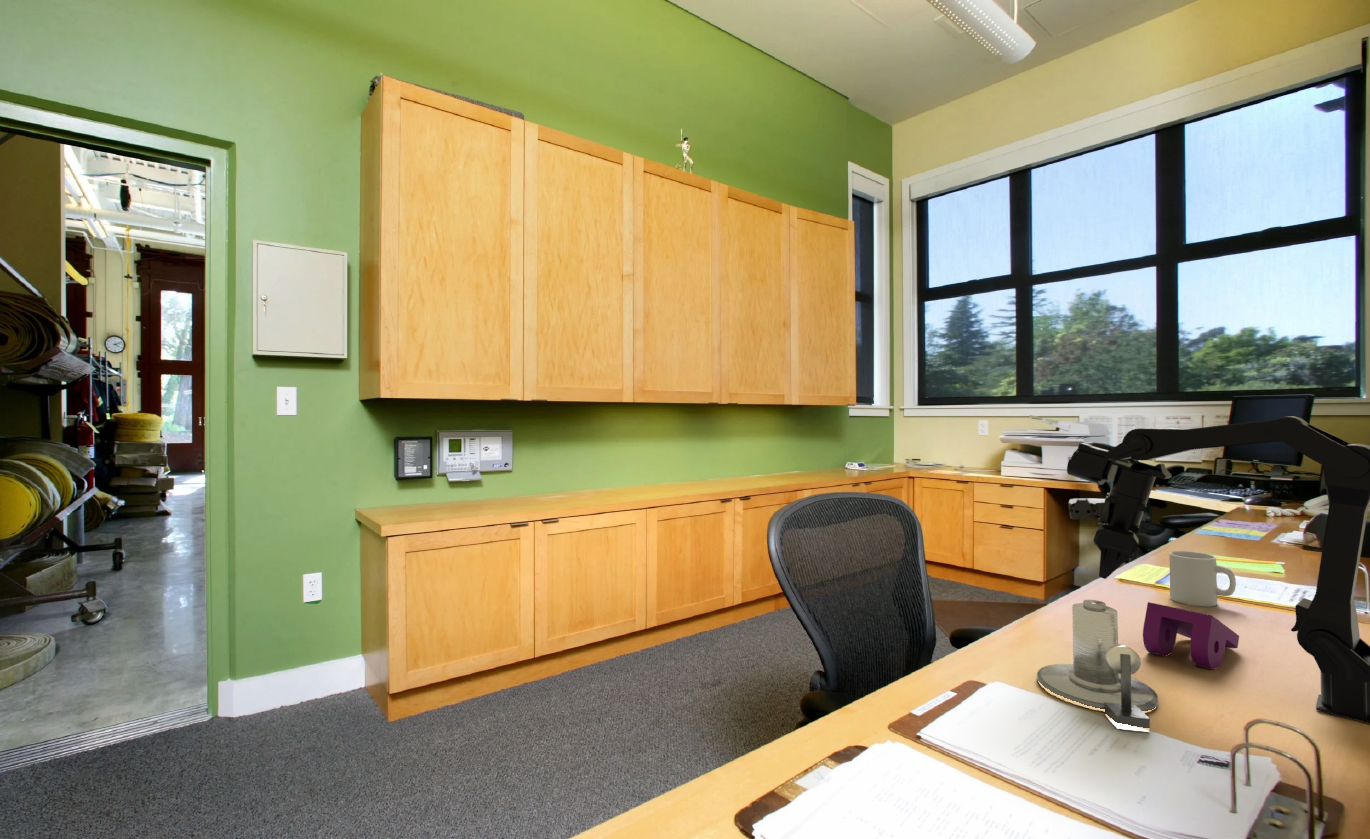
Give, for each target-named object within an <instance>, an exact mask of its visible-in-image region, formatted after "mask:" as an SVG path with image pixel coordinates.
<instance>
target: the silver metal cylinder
mask: <svg viewBox="0 0 1370 839" xmlns="http://www.w3.org/2000/svg"><path fill="white" fill-rule="evenodd" d="M1071 608H1072V609H1071V610H1072V656H1073V658H1072V660H1073V662H1072V664H1073V669H1071V670H1070V671H1069V679H1070V681H1071V682H1072V683H1074V684H1075V685H1077V686H1079V687H1082V688H1085V689H1088V690H1091V691H1096V692H1101V693H1118V692H1121V678H1120V677H1119V673H1117V672H1116V671H1114V670H1113V669H1112V668H1111V667H1110V666H1109V665H1108V664H1107V662H1106V658H1105V655H1106V651H1107V650H1108V649H1109V648H1110V647H1111V646H1113V645H1116V644H1119V635H1118V634H1119V627H1118V626H1119V624H1118V619H1119V618H1118V617H1119V616H1118V610H1117V609H1115V608H1113V607H1110V606H1107V604H1106V603H1105V602H1103V601H1102V600H1101V601H1100V600H1095V599H1084V600H1083V601H1082V602H1079V603H1073V604H1072V606H1071Z"/></svg>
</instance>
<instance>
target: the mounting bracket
mask: <svg viewBox="0 0 1370 839" xmlns="http://www.w3.org/2000/svg"><path fill="white" fill-rule="evenodd" d="M1144 617H1145V618H1144V622H1143V627H1142V641H1143V646H1144V648H1145V650H1146V651H1147V652H1148V653H1150V654H1153V653H1154V654H1155V655H1157V654H1158V656H1161V657H1164V656H1165V657H1167V656H1169V655H1171V654H1172V653H1173V651H1174V648H1175V645H1176V641H1177V635H1180V636H1183V637H1185V638H1188V639H1190V644H1189V645H1190V647H1189V648H1190V657H1191V660H1192V663H1193V664H1194V665H1196V666H1198V667H1201V666H1202V668H1206V669H1209V670H1213V671H1215V670H1217V669H1218V668H1220V667H1221V665H1222V663H1223V660H1224V656H1225V650H1226V648H1228V649H1238V647H1239V641H1240V635H1239V634H1238V633H1236V632H1235V631H1233V630H1232V629H1231V628H1229V627H1228V625H1227V626H1226V625H1225V623H1223V622H1222V621H1220V620H1219V619H1218V618H1216V616H1214V615H1212V614H1207V613H1206V614H1205V613H1201V612H1196V611H1192V610H1188V609H1182V608H1179V607H1178V608H1177V607H1173V606H1169V605H1168V606H1167V605H1163V604H1159V603H1154V602H1149V601H1148V602H1147V606H1146V611H1145V616H1144ZM1170 653H1171V654H1170ZM1154 654H1153V655H1154ZM1168 654H1169V655H1168ZM1166 655H1167V656H1166Z"/></svg>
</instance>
